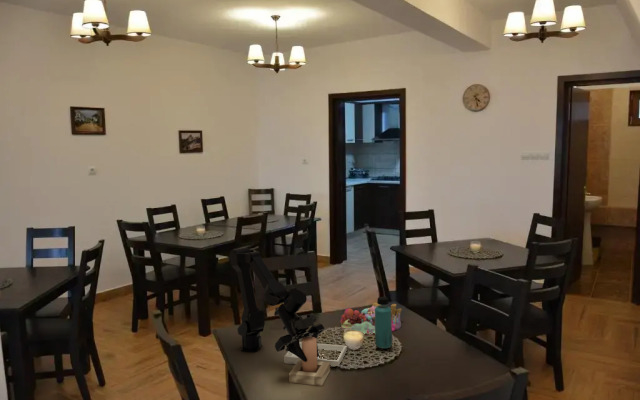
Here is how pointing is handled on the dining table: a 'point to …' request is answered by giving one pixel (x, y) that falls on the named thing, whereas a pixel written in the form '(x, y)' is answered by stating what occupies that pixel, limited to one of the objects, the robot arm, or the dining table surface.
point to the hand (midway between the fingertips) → (312, 359)
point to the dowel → (310, 354)
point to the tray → (293, 359)
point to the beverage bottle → (383, 324)
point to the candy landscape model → (368, 319)
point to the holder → (309, 374)
